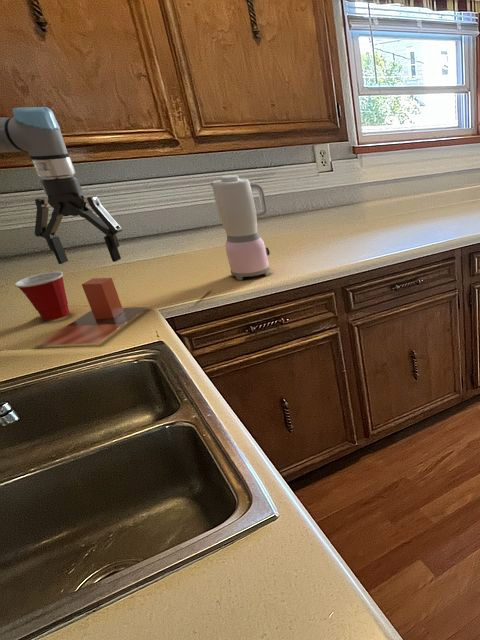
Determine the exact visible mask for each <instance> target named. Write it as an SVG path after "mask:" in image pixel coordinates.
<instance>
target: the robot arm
mask: <svg viewBox="0 0 480 640" xmlns="http://www.w3.org/2000/svg"><path fill="white" fill-rule="evenodd" d="M12 114H13V116H12V117H11V116H10V117H6V116H5V117H4V116H3V117H0V154H3V153H19V152H25V153H26V152H28V155H29V157H30V159H31V161H32V164H33V167H34V169H35V172H36V174H37V177H39V178H42V179H40V181H39V182H40V185H41V187H42V190H43V192H44V194H45V195H46V196H47V198H46V197H44V196H43V197H38V198H35V199H34V204H35V206H36V212H35V213H36V214H35V224H34V225H35V226H34V235H35V237H38V238H39V237H41V238H44V239H45V241H46V244H47V246H48V248H49V250H50V251H51V252H53V253H54V256H55V259H56V261H57V263H58V265H62V264H65V263H67V262H69V259H68V256H67V254H66V252H65V249H64V246H63V244H62V241H61V238H60V237H59V236H57V235H56V233H57V231H58V229H59V227H60V224H61V222H62V220H63V218H64V217H69V216H71V217H78V216H80V217H81V218H83V219H85V220H86V221H87V222H89V223H90V224H91V225H93V226H94V227H95V228H97V230H99V231H100V232H102V233H103V234H104V235H105V236H104V237H103V239H104V242H105V245H106V247H107V250H108V253H109V256H110V258H111V261H112V262H114V263H115V262H118V261H120V260H121V259H122V256H121V254H120V251H119V249H118V248H120V243H119V240H118V237H117V234H118V233H121V232H122V231H123V228H122V227H121V226H120V224H119V223H118V222H117V221H116V219H114V217H113V216H112V215H111V214H110V213H109V212H108V210H107V209H106V208H105V207H104V206H103V205H102V204H101V201H100V199H99V197H98V196H97V195H94V194H93V195H91V196H87V197H85V196H84V195H83V189H82V186H81V184H80V181H79V178H78V177H77V176H75V175H76V169H75V167H74V164H73V161H72V159H71V157H70V154H69V152H68V150H67V147H66V146H67V145H66V143H65V139H64V136H63V133H62V131H61V126H60V125H59V123H58V121H57V118H56V116H55V113H54V111H52V109H51V108H49V107H47V106H33V107H31V106H29V107H14V108H13V109H12ZM88 206H89V207H90V208H91V209H90V208H89V207H88ZM50 207H51V208H52V209H53V210H52V212H51V214H50V215H51V217H50V219H49V211H50V210H49V208H50ZM48 220H49V221H48Z"/></svg>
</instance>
